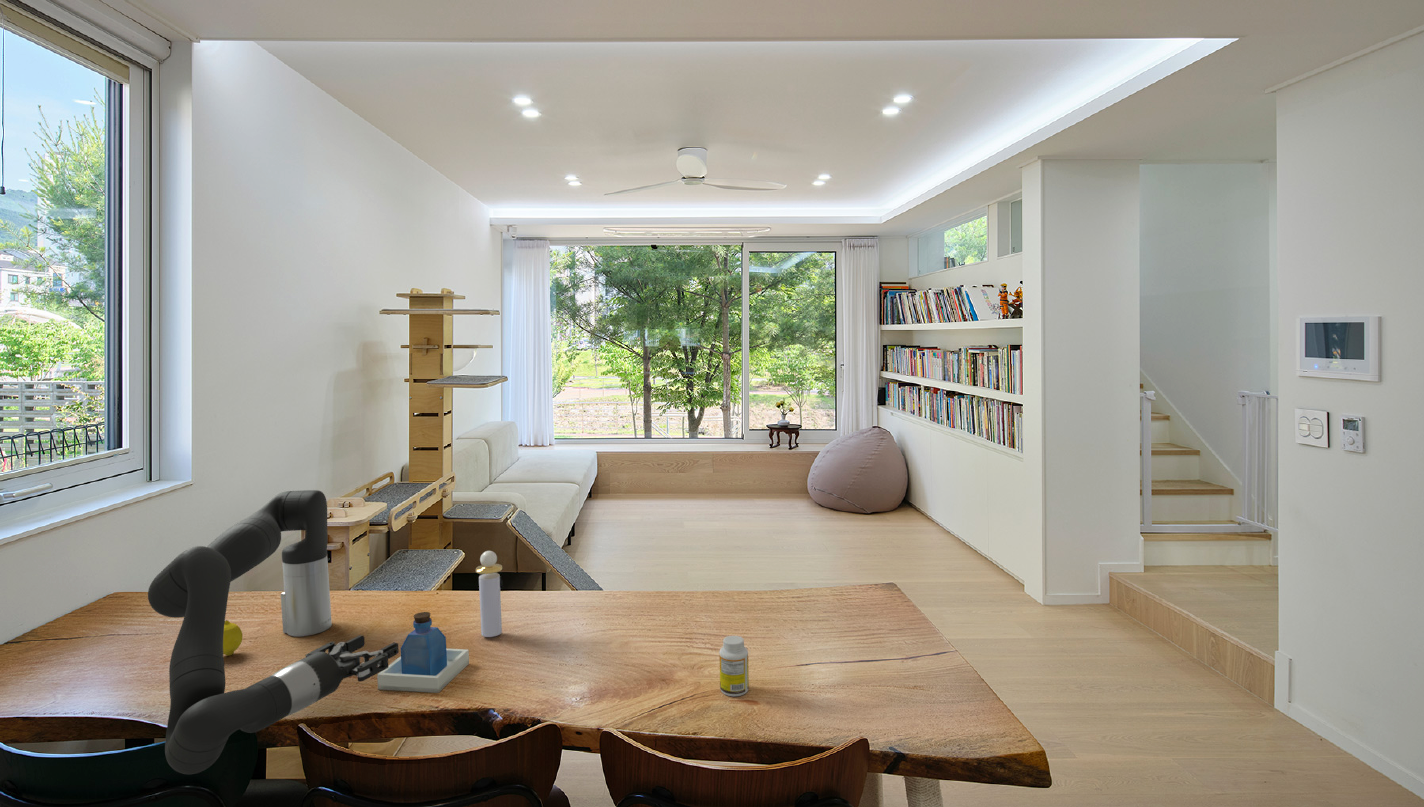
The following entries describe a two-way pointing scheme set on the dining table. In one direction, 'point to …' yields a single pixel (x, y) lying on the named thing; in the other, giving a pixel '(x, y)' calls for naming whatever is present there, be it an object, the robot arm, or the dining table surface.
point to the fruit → (231, 638)
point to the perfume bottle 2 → (490, 594)
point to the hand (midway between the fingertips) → (379, 643)
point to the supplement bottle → (734, 667)
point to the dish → (423, 683)
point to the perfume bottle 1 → (424, 648)
